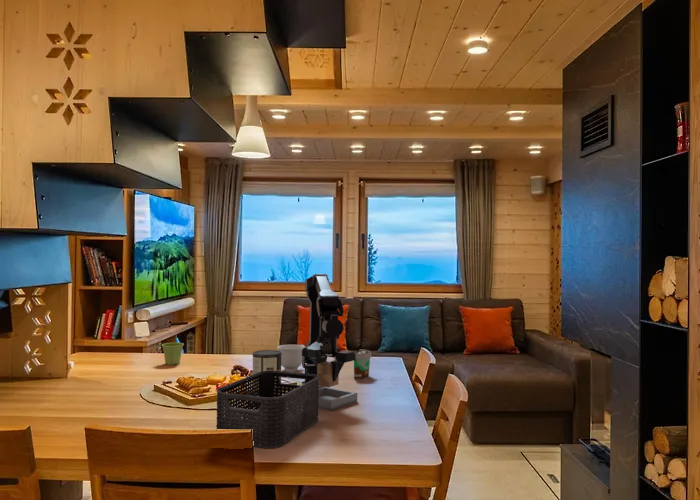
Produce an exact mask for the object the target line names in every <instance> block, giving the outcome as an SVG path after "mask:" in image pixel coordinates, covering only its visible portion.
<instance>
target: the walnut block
mask: <svg viewBox="0 0 700 500" xmlns="http://www.w3.org/2000/svg"><path fill="white" fill-rule="evenodd" d="M317 375H318V376H319V379H318V383H319V386H321V387H329V388H333V387H335V386H337V385H339V382H340V381H339V380H340V379H339V375H340V374H339V375H338V377H337V379H336V381H333V378H332V364H331V361H328V360H327V362H322V363H318V364H317Z"/></svg>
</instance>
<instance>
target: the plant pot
mask: <svg viewBox="0 0 700 500" xmlns="http://www.w3.org/2000/svg"><path fill="white" fill-rule="evenodd" d="M184 345H185V344H184V342H183V343H182V342H166V343H162V344H161V347H162V349H163V355H164V364H165V365H167V366H173V365H179V364H180V363H181V356H182V351H183V346H184Z"/></svg>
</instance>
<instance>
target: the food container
mask: <svg viewBox="0 0 700 500" xmlns="http://www.w3.org/2000/svg"><path fill="white" fill-rule="evenodd" d="M358 349H359V350H358V352H356V353H355V355H356V360H354V361H353V378H354V379H355V380H357V379H361V380H362V379H367V378H368V377H370V376H369V375H370V366H371V365H370V362H371V358H372V357H373V356H372V353H371V351H370V350H368V349H365V348H364V349H362V348H361V349H360V348H358Z"/></svg>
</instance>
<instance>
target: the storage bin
mask: <svg viewBox="0 0 700 500" xmlns="http://www.w3.org/2000/svg"><path fill="white" fill-rule="evenodd" d="M256 376H257V377H256ZM279 377H281V378H287V379H297V380H305V379H306V383H305V384H304V383H302V384H301V385H298V384H290V383H289V384H288V383H282V382H281V383H280V380H279ZM258 378H259V379H258ZM256 379H257V380H256ZM318 379H319V376H318V375H314V374H305V372H304V373H303V372H294V371H293V372H288V371H284V370H283V371H282V370H281V371H262V372H258V373H256V374H253V373H252V374H251V375H248V376H246V377H244V378H241V379H239V380H236V381H234V382H232V383H228V384H227V385H224V386H221V387H219V388H217V389H216V427H215V428H216V430H217V429H253V441H254V447H253V448H261V449H267V450H270V449H278V448H279V449H280V448H281V447H284V446H285V445H286V444H288V443H289V442H291V441H292V440H294V439H295V438H297V437H298V436H300V435H301V434H302V433H303V432H305V431H306V430H308V429H309V428H311V427H312V426H313V425H315V424H316V423H317V422H319V408H318V406H319V404H318V400H319V397H318V393H319V390H318V388H319V386H320V385H319V383H318ZM275 380H276V381H275ZM310 380H311V381H310ZM275 383H276V384H275ZM253 384H254V385H253ZM258 385H259V386H258ZM275 386H276V387H275ZM279 387H280V388H279ZM258 388H259V389H258ZM278 390H280V391H278ZM278 393H279V394H278Z"/></svg>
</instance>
